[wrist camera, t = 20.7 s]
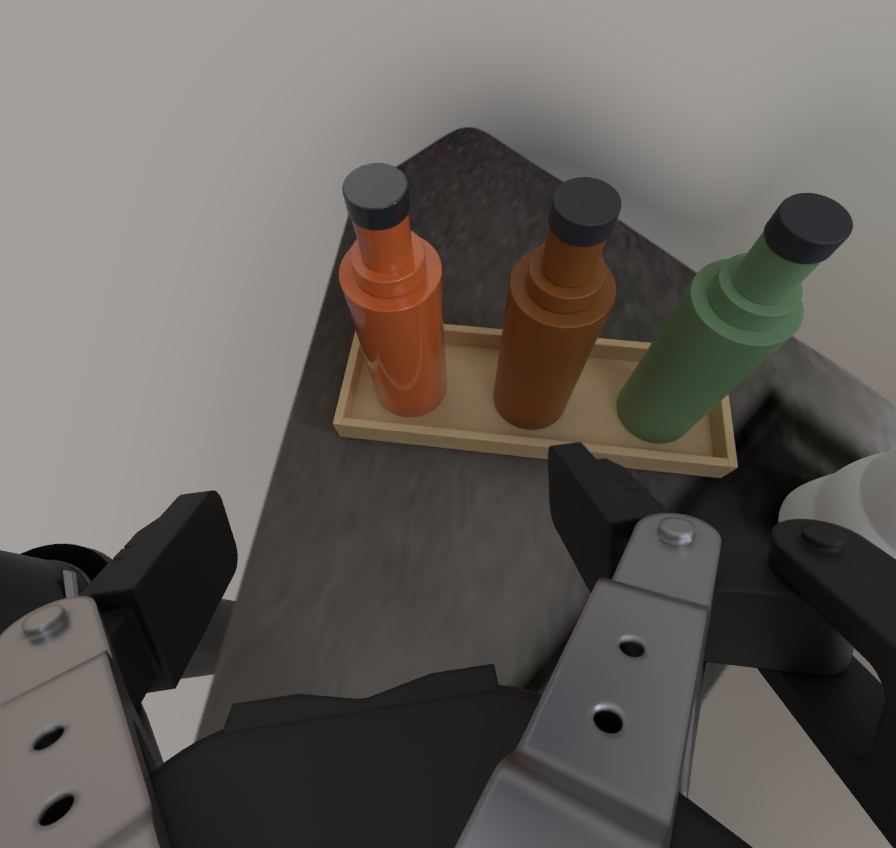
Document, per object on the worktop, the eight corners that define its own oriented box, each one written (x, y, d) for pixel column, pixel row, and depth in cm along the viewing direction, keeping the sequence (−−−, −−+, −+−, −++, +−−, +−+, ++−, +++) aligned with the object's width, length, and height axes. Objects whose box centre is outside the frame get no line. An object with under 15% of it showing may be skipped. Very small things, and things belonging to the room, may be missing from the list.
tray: (339, 437, 35) (332, 424, 33) (364, 333, 39) (358, 315, 37) (720, 478, 34) (738, 467, 31) (708, 365, 37) (723, 349, 35)
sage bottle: (646, 456, 34) (817, 289, 18) (601, 396, 36) (718, 198, 20) (707, 423, 35) (920, 236, 19) (660, 366, 37) (816, 154, 21)
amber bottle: (517, 442, 34) (569, 269, 18) (480, 384, 36) (497, 182, 20) (580, 410, 35) (682, 218, 19) (540, 355, 37) (602, 140, 21)
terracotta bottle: (394, 429, 35) (340, 250, 19) (364, 373, 37) (292, 168, 21) (459, 398, 36) (461, 202, 20) (426, 344, 38) (404, 128, 22)
